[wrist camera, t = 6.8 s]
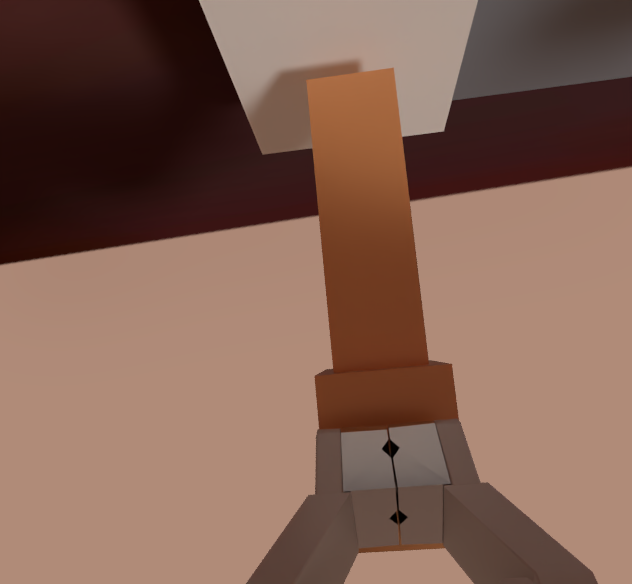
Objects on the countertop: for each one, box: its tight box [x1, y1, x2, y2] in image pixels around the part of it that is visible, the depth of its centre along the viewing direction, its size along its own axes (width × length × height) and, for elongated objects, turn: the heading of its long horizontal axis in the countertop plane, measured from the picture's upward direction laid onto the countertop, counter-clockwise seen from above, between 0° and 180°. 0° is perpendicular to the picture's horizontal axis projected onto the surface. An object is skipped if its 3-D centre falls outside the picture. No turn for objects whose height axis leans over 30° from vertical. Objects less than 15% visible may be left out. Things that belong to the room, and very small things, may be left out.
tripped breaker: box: [306, 68, 459, 553], centre depth 13 cm, size 3×4×12 cm
